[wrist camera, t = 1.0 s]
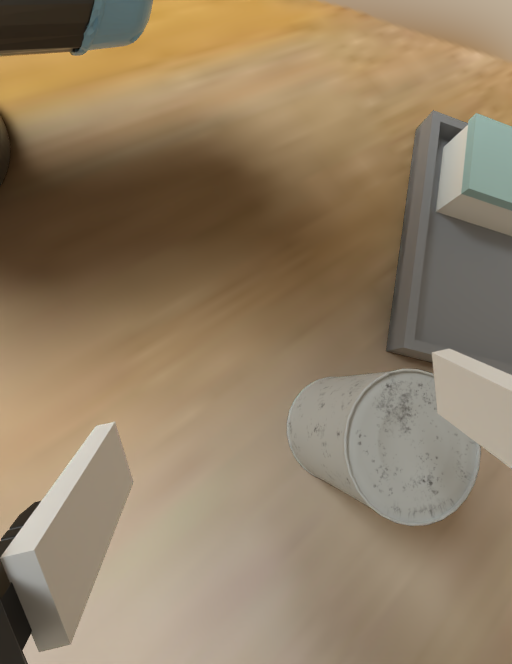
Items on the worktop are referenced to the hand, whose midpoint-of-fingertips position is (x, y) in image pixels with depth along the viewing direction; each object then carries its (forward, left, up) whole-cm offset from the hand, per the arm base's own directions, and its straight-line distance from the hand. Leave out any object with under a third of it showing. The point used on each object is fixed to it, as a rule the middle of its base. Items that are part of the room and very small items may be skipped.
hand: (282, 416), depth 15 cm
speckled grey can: (+5, +9, -19) cm, 22 cm away
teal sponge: (-13, +35, -18) cm, 41 cm away
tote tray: (-7, +31, -19) cm, 37 cm away
